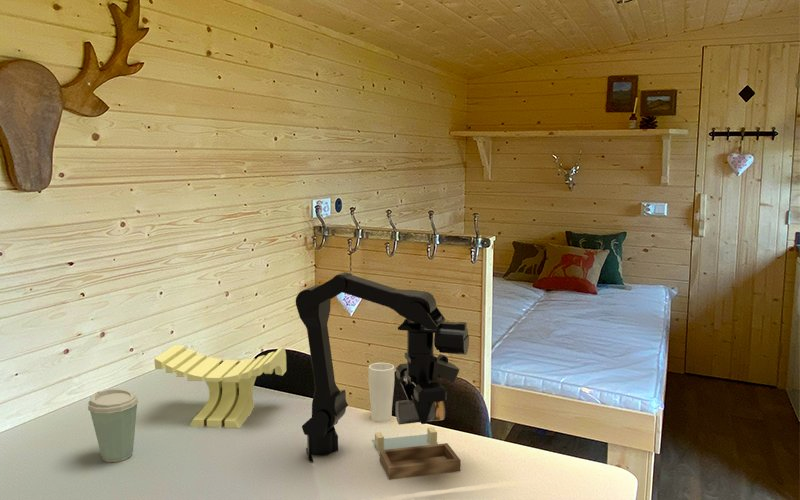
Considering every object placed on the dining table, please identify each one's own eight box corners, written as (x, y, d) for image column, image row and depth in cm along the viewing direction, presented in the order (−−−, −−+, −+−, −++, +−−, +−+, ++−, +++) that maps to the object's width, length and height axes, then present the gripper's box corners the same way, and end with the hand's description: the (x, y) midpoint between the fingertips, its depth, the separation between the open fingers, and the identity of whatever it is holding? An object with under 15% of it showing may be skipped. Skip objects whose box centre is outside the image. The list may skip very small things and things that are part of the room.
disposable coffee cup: (151, 450, 154) (148, 389, 152) (118, 470, 144) (114, 405, 142) (115, 444, 158) (111, 384, 156) (80, 463, 148) (76, 399, 146)
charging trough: (389, 483, 139) (389, 468, 139) (379, 465, 148) (379, 450, 147) (460, 475, 143) (460, 460, 143) (447, 457, 152) (447, 443, 151)
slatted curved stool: (287, 406, 183) (285, 344, 181) (271, 429, 167) (269, 361, 165) (182, 402, 185) (180, 341, 183) (157, 425, 170) (154, 358, 167)
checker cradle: (379, 460, 150) (379, 443, 150) (371, 443, 159) (371, 428, 158) (441, 453, 154) (441, 436, 153) (430, 437, 163) (430, 422, 162)
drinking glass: (391, 427, 169) (391, 371, 167) (365, 425, 170) (365, 369, 168) (396, 417, 175) (396, 363, 173) (372, 415, 177) (372, 361, 175)
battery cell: (401, 428, 141) (401, 405, 140) (395, 419, 146) (395, 397, 145) (445, 423, 143) (445, 401, 143) (438, 414, 148) (438, 393, 148)
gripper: (470, 359, 135) (469, 432, 138) (441, 337, 153) (440, 401, 155) (419, 364, 133) (418, 437, 135) (395, 340, 150) (395, 405, 152)
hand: (419, 419), depth 144 cm, fingers closed on battery cell, 5 cm apart
